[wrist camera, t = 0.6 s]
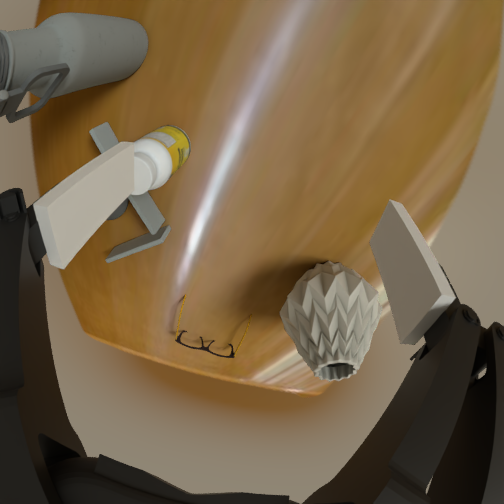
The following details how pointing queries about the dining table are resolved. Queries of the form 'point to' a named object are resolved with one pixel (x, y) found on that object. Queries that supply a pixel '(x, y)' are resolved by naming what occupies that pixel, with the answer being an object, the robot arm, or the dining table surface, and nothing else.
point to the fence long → (140, 202)
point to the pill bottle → (159, 157)
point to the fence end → (138, 244)
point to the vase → (332, 319)
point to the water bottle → (66, 58)
